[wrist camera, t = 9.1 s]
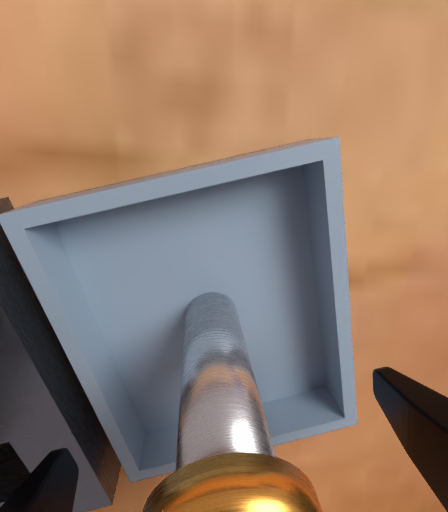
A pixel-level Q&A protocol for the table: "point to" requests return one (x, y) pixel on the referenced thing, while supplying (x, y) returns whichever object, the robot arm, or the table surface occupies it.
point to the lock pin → (225, 427)
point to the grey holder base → (44, 395)
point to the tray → (199, 290)
